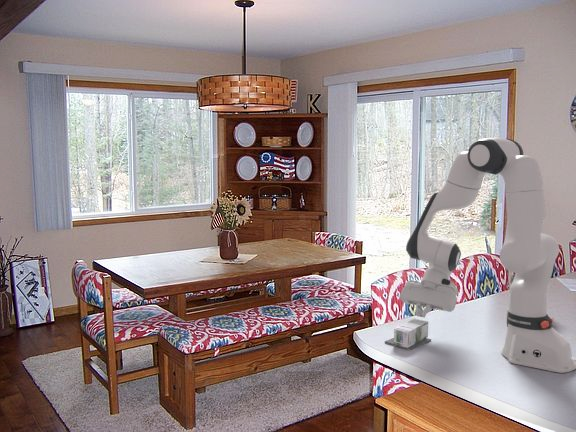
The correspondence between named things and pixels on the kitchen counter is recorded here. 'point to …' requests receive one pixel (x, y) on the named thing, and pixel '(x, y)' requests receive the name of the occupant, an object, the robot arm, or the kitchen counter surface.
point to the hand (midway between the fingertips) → (419, 316)
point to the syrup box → (410, 333)
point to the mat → (426, 340)
